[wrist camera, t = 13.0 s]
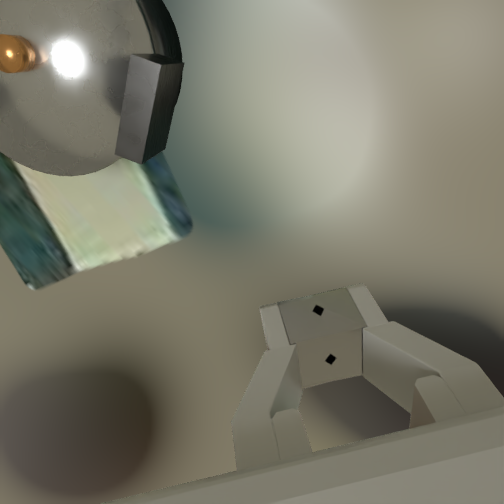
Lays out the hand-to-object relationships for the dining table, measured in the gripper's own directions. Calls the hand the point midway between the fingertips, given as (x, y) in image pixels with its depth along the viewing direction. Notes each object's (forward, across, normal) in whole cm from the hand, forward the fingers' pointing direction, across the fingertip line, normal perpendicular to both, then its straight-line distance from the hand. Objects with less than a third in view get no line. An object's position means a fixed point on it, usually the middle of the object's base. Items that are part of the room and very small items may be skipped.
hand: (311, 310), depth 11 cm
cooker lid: (+35, -14, +3) cm, 38 cm away
